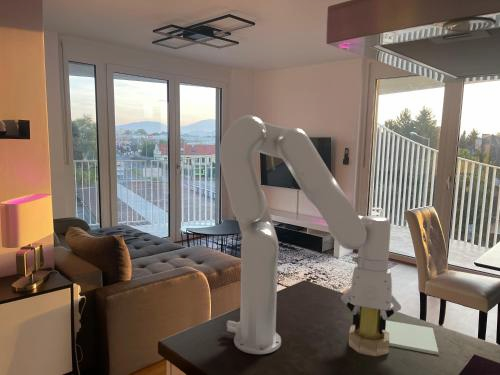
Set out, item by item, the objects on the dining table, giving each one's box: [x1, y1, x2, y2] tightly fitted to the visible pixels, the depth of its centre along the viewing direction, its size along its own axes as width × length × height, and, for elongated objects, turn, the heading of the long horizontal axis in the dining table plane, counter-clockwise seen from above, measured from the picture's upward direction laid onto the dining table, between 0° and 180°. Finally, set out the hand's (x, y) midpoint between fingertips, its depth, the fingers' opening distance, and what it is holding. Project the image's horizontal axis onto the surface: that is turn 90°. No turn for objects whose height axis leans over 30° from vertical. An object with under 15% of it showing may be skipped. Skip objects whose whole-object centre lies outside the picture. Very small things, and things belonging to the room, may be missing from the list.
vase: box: [357, 307, 381, 341], centre depth 99 cm, size 6×6×14 cm
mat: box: [385, 319, 440, 356], centre depth 105 cm, size 14×14×1 cm
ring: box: [348, 325, 390, 357], centre depth 100 cm, size 10×10×4 cm
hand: (368, 329), depth 99 cm, fingers closed on vase, 5 cm apart
